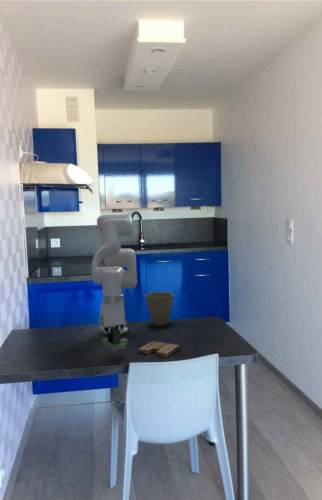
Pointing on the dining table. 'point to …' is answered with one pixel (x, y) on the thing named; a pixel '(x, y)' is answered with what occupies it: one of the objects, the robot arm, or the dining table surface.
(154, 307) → the plant pot
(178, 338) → the dining table surface
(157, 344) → the notched brown wooden block
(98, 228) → the robot arm
